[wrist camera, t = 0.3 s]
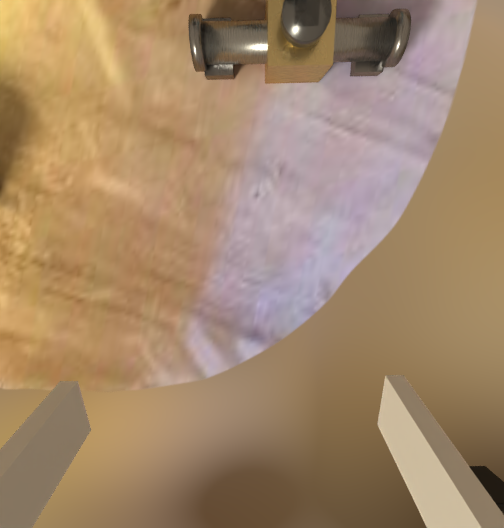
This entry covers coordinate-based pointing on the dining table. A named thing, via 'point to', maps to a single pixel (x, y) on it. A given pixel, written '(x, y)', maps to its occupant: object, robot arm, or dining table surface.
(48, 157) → the dining table surface
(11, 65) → the dining table surface
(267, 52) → the pipe valve
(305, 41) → the lever
